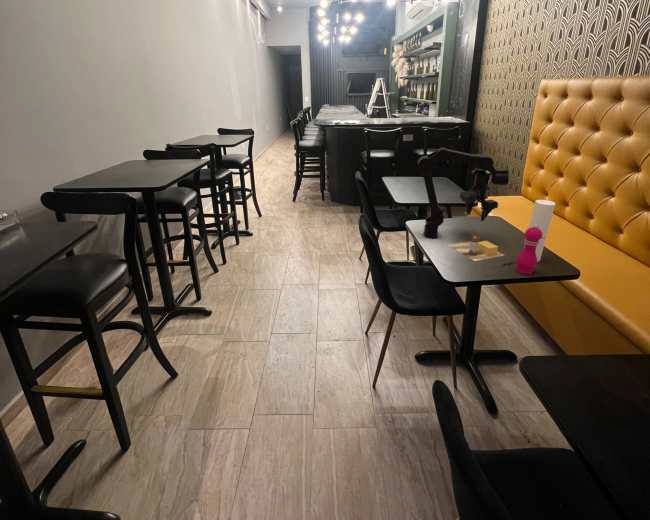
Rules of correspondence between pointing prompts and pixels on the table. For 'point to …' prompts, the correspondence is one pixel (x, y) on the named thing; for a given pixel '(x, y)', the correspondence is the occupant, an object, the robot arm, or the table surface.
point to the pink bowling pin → (529, 251)
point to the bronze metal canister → (474, 245)
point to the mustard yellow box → (487, 248)
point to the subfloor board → (464, 249)
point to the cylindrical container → (542, 221)
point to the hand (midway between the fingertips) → (475, 217)
